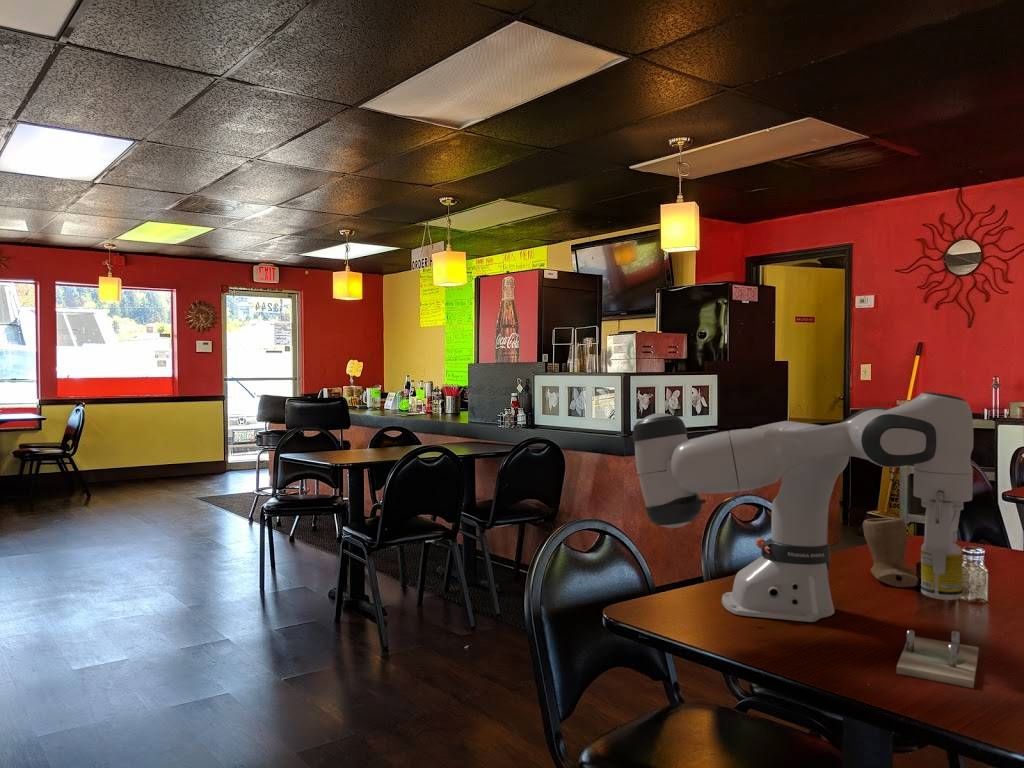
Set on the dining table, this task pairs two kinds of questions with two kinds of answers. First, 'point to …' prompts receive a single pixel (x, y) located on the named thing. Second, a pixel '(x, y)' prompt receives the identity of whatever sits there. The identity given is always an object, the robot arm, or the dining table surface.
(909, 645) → the header pins
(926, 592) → the pill bottle
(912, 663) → the light wood flat board
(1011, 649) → the dining table surface
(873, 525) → the tan boot
